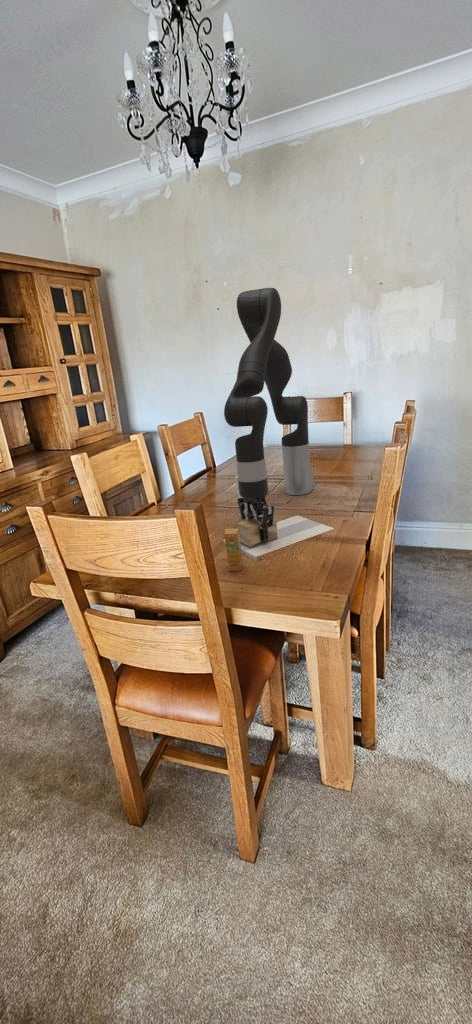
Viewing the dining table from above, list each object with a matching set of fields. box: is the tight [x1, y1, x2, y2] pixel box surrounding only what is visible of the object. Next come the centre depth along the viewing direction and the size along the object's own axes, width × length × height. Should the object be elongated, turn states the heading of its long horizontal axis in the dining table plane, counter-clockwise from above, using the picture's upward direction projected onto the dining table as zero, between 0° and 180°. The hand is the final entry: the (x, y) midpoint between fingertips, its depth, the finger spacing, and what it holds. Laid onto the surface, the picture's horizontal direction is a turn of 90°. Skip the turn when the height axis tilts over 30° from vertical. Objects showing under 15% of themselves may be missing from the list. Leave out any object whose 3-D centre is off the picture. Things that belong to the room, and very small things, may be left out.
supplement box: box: [224, 527, 244, 572], centre depth 115 cm, size 3×3×10 cm
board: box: [222, 514, 334, 562], centre depth 131 cm, size 26×16×1 cm, turn 122°
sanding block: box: [236, 514, 278, 548], centre depth 127 cm, size 9×5×6 cm, turn 122°
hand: (258, 538), depth 128 cm, fingers closed on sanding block, 5 cm apart
